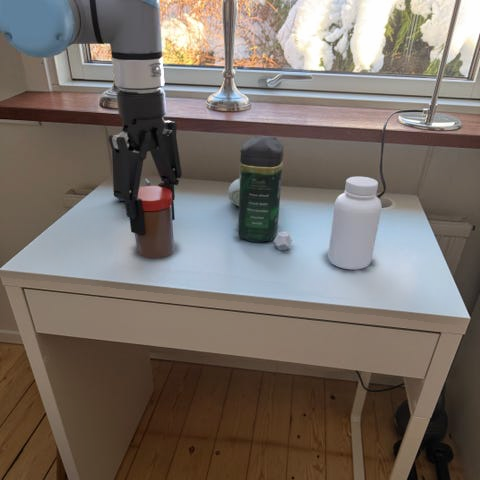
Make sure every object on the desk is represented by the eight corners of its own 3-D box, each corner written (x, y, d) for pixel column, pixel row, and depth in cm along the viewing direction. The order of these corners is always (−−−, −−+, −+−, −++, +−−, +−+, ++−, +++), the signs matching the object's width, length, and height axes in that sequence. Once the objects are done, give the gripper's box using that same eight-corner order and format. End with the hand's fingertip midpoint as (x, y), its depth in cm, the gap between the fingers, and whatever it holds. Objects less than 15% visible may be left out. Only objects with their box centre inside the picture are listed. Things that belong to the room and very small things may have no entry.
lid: (152, 215, 79) (151, 204, 78) (121, 204, 82) (119, 194, 81) (181, 201, 84) (180, 191, 83) (150, 192, 87) (149, 182, 86)
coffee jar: (274, 245, 91) (281, 148, 80) (234, 241, 92) (236, 144, 81) (280, 225, 99) (287, 134, 88) (243, 222, 100) (245, 131, 89)
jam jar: (137, 260, 85) (130, 204, 79) (136, 243, 91) (130, 190, 84) (175, 257, 86) (172, 202, 80) (172, 240, 92) (169, 188, 86)
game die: (289, 253, 88) (290, 239, 87) (270, 250, 89) (271, 236, 88) (293, 245, 91) (294, 231, 89) (275, 242, 92) (276, 228, 90)
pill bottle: (343, 246, 91) (356, 170, 82) (378, 261, 87) (396, 182, 78) (318, 259, 87) (329, 180, 78) (354, 275, 82) (370, 193, 73)
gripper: (109, 101, 64) (129, 251, 77) (199, 82, 77) (203, 212, 91) (72, 95, 67) (97, 240, 80) (165, 78, 81) (173, 204, 94)
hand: (153, 225), depth 86 cm, fingers closed on lid, 7 cm apart
